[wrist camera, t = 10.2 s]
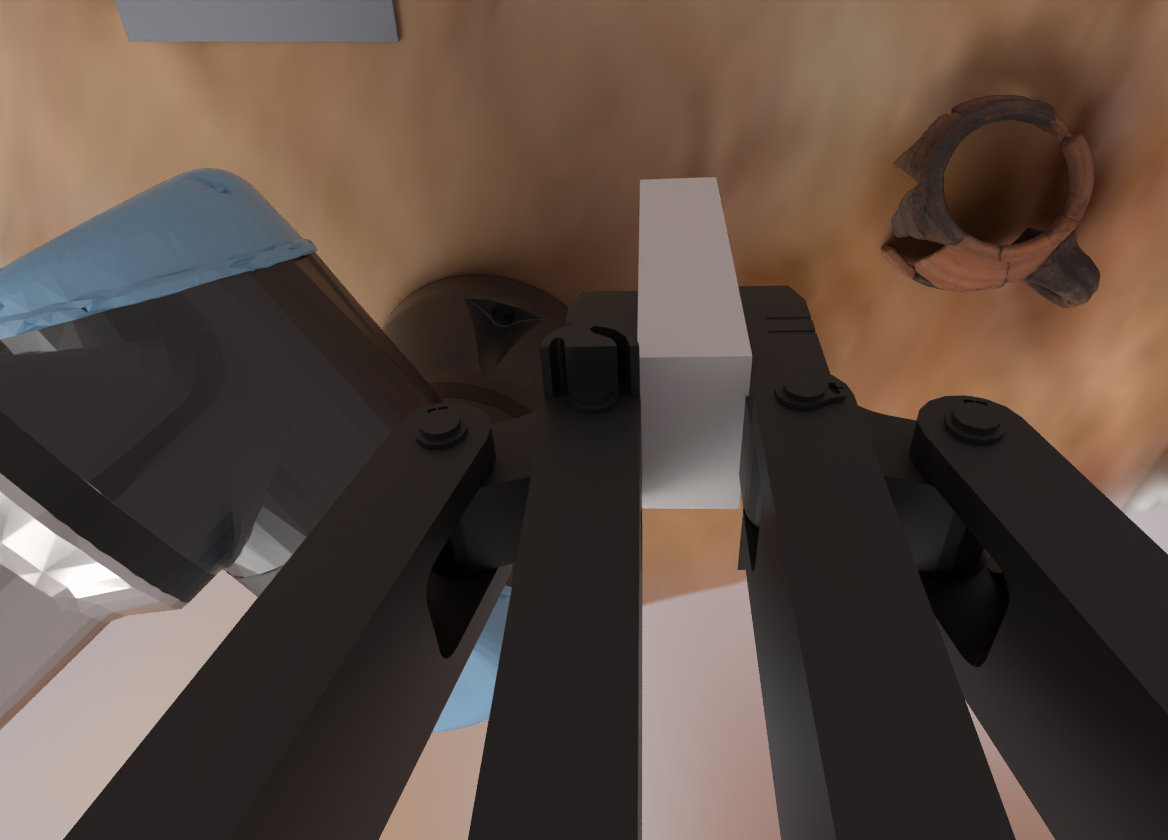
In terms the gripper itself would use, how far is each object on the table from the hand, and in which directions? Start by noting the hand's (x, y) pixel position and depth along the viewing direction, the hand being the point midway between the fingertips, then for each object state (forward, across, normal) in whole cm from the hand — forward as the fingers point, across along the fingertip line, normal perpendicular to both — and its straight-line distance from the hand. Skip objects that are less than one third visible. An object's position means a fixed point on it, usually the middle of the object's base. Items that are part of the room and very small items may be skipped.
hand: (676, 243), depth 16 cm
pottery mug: (+26, -17, +10) cm, 32 cm away
